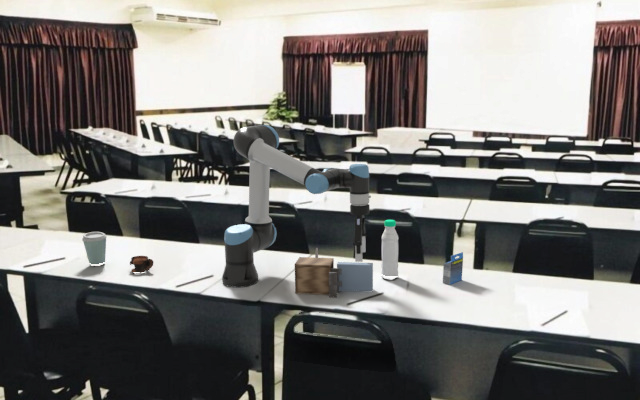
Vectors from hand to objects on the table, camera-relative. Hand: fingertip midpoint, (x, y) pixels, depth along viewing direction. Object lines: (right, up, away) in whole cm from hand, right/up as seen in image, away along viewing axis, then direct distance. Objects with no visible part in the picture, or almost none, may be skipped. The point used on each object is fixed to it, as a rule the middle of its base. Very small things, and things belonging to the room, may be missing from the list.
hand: (360, 256), depth 243 cm
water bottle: (+14, -11, +17) cm, 25 cm away
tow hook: (-17, -10, +23) cm, 31 cm away
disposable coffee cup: (-120, -8, +43) cm, 128 cm away
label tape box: (+39, -12, +11) cm, 42 cm away
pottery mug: (-96, -10, +33) cm, 102 cm away
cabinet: (-17, -14, +2) cm, 22 cm away
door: (-2, -14, +3) cm, 14 cm away
